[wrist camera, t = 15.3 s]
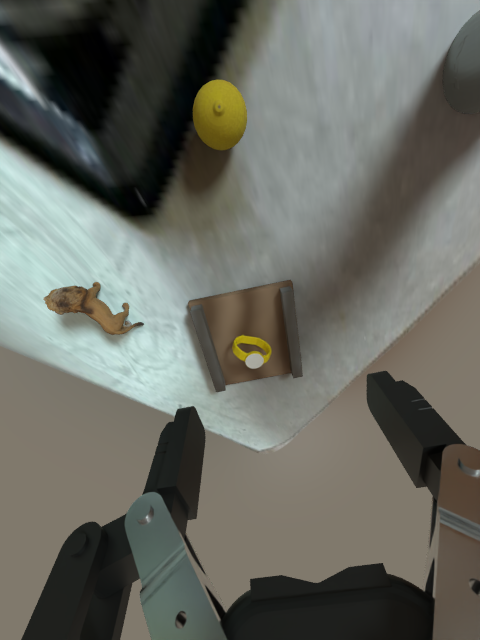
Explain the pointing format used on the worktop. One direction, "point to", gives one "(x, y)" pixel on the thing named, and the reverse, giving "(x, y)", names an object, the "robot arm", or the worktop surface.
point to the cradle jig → (248, 332)
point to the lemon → (219, 115)
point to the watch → (254, 357)
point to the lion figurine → (89, 307)
